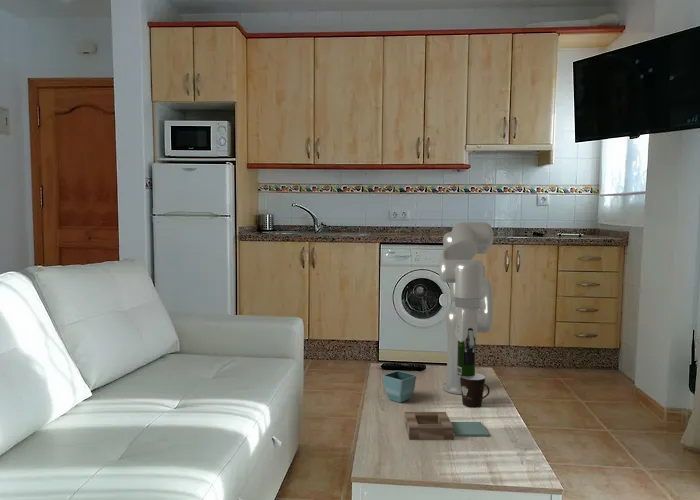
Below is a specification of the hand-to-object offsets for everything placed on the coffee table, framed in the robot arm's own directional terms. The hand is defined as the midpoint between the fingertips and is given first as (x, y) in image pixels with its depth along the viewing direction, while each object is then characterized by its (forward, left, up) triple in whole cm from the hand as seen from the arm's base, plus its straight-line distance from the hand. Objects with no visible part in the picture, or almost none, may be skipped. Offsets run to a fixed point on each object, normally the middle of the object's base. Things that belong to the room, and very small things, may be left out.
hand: (466, 361), depth 161 cm
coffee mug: (-21, +7, -21) cm, 31 cm away
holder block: (+1, -12, -21) cm, 24 cm away
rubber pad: (0, +1, -21) cm, 21 cm away
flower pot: (-27, -18, -21) cm, 38 cm away
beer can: (0, 0, -5) cm, 5 cm away
